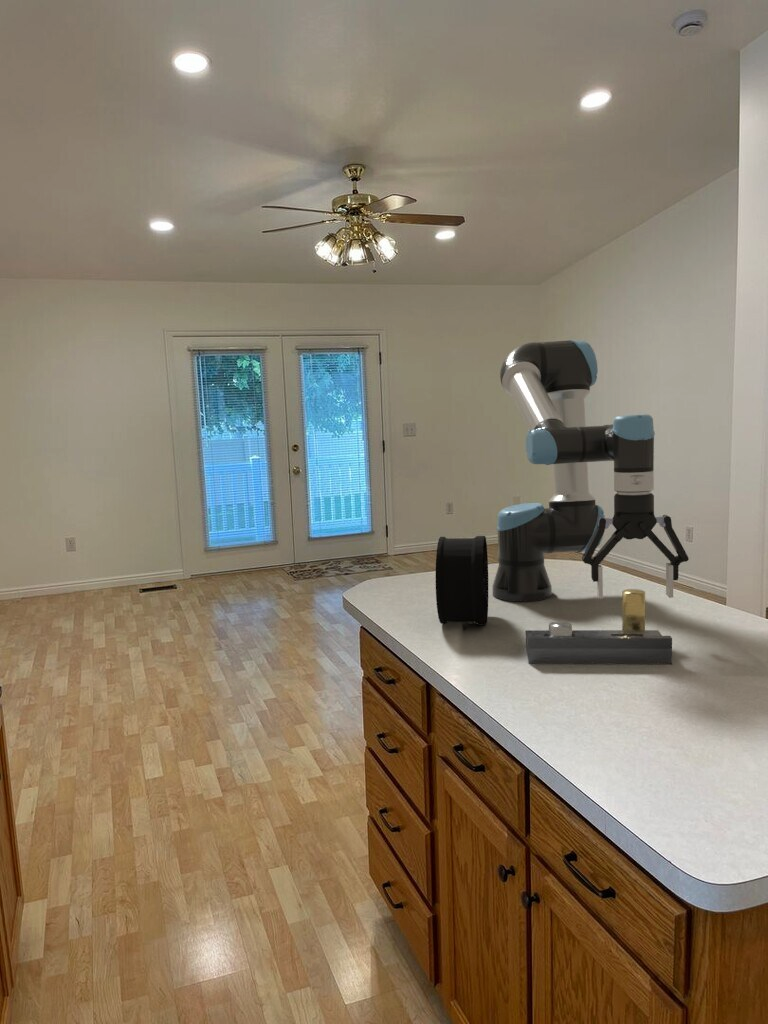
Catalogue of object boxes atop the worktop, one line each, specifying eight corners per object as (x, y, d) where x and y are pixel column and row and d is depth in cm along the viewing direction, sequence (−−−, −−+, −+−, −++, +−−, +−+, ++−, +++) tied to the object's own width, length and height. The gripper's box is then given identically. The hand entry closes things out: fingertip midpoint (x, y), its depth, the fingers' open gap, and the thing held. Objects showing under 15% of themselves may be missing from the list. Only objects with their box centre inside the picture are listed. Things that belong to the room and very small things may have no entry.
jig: (525, 644, 144) (525, 621, 144) (658, 644, 140) (658, 620, 140) (528, 663, 134) (528, 638, 133) (671, 664, 130) (672, 638, 129)
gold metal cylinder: (620, 635, 147) (620, 589, 146) (642, 635, 146) (642, 589, 145) (624, 642, 143) (624, 594, 141) (647, 642, 142) (647, 594, 141)
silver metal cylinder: (548, 650, 141) (547, 621, 140) (571, 650, 140) (570, 621, 139) (550, 657, 136) (549, 628, 135) (573, 657, 136) (573, 628, 135)
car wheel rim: (484, 636, 151) (481, 545, 148) (437, 635, 153) (433, 545, 150) (489, 610, 170) (486, 528, 167) (447, 609, 172) (444, 529, 169)
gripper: (571, 496, 138) (573, 601, 141) (705, 492, 135) (704, 600, 137) (567, 492, 146) (569, 592, 148) (694, 488, 142) (693, 591, 145)
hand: (634, 596), depth 143 cm, fingers open, 13 cm apart
